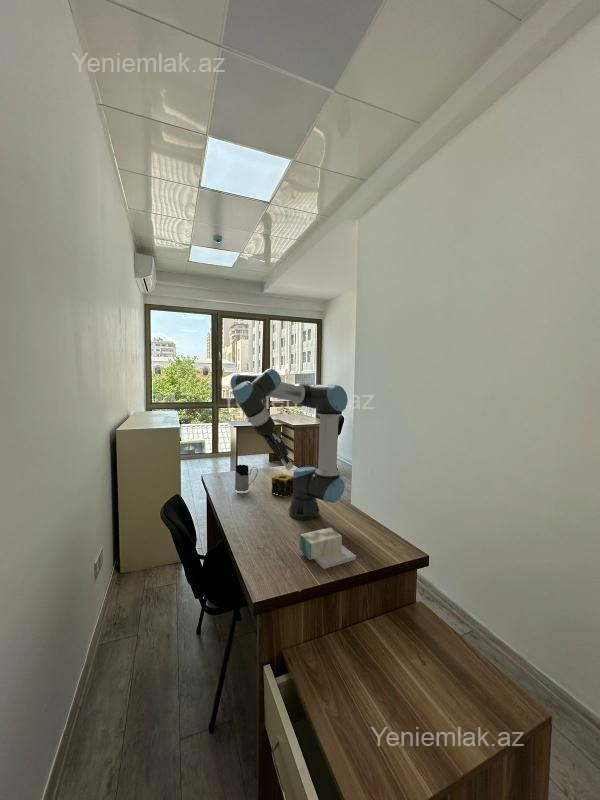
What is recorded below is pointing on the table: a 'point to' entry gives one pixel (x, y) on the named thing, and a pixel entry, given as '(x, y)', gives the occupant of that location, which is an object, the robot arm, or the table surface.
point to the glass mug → (242, 477)
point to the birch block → (320, 543)
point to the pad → (336, 558)
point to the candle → (282, 484)
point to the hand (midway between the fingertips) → (290, 467)
